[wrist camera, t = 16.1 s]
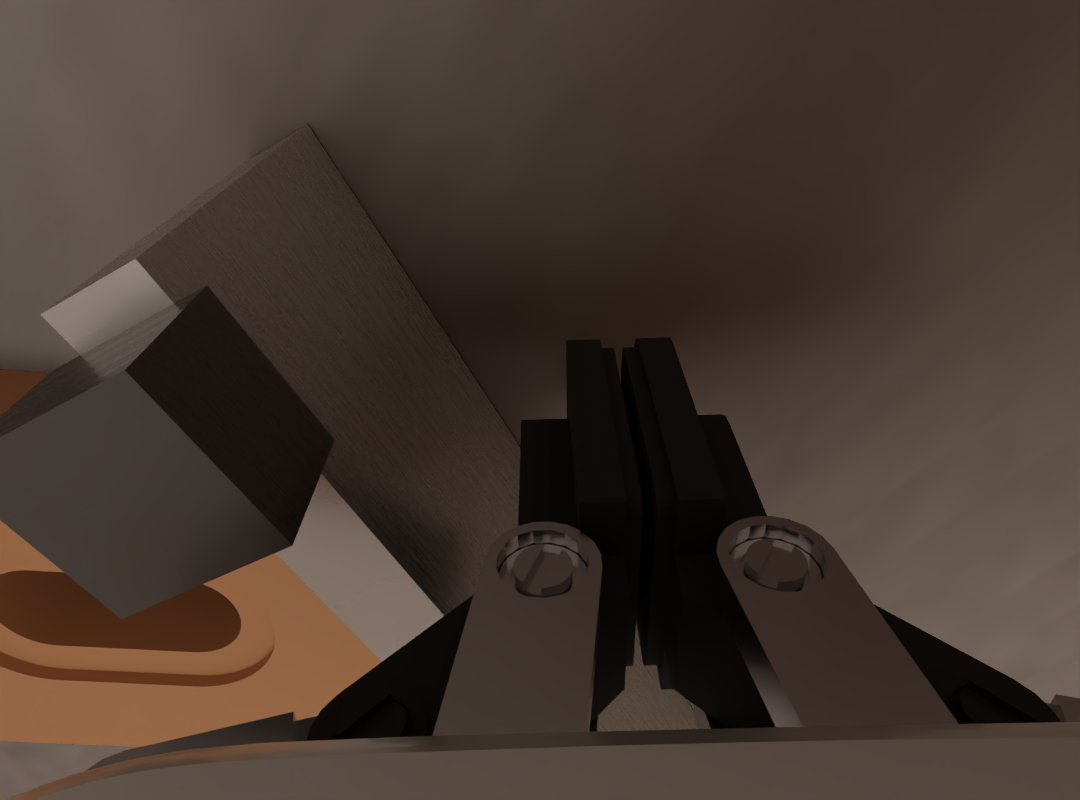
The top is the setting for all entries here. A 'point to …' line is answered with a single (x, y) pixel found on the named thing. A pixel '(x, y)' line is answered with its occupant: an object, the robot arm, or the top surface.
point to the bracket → (160, 649)
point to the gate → (272, 422)
